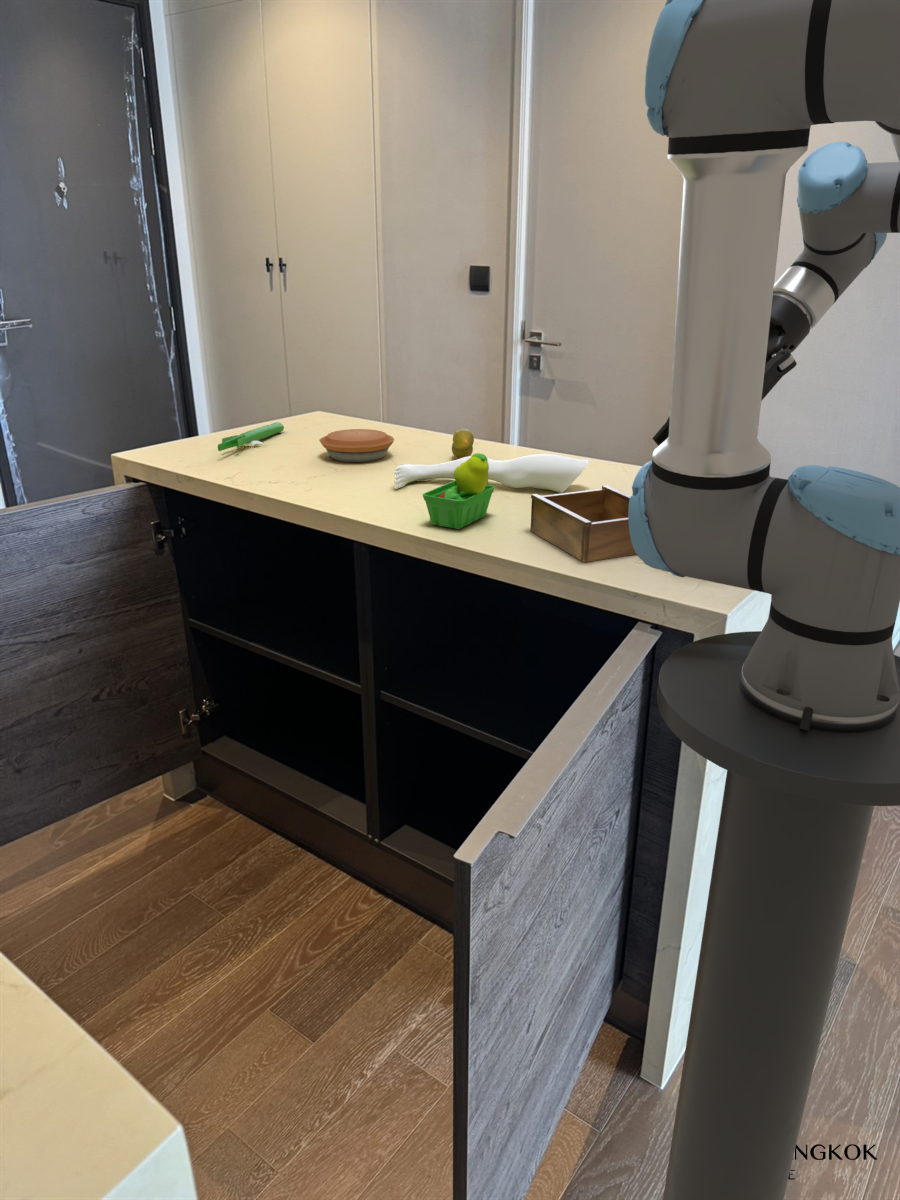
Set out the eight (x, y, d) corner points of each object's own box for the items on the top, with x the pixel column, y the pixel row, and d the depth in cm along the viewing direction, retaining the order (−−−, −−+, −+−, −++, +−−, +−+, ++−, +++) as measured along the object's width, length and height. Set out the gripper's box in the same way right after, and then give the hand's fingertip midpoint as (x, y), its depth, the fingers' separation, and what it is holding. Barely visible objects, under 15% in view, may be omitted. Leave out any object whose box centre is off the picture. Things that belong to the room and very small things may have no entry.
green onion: (270, 435, 204) (209, 456, 177) (270, 421, 203) (208, 440, 176) (290, 436, 203) (231, 458, 176) (289, 422, 202) (230, 442, 175)
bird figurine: (455, 467, 172) (455, 435, 170) (448, 451, 186) (448, 420, 184) (477, 467, 173) (477, 434, 170) (468, 450, 186) (468, 420, 184)
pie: (361, 445, 191) (360, 422, 189) (409, 456, 181) (409, 432, 179) (305, 456, 181) (304, 432, 179) (353, 469, 171) (352, 444, 169)
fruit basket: (456, 508, 146) (456, 441, 142) (502, 516, 142) (504, 448, 138) (420, 525, 137) (419, 455, 133) (469, 534, 133) (469, 462, 128)
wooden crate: (663, 550, 126) (667, 511, 124) (583, 562, 121) (585, 522, 119) (604, 520, 140) (607, 485, 137) (529, 530, 135) (531, 494, 132)
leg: (589, 460, 148) (590, 447, 158) (391, 464, 154) (403, 451, 164) (589, 498, 151) (589, 483, 160) (394, 500, 157) (406, 485, 166)
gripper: (853, 340, 107) (731, 483, 107) (753, 327, 122) (646, 453, 122) (828, 295, 103) (701, 444, 103) (728, 288, 118) (617, 418, 118)
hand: (671, 449), depth 112 cm, fingers closed on carrot, 5 cm apart
